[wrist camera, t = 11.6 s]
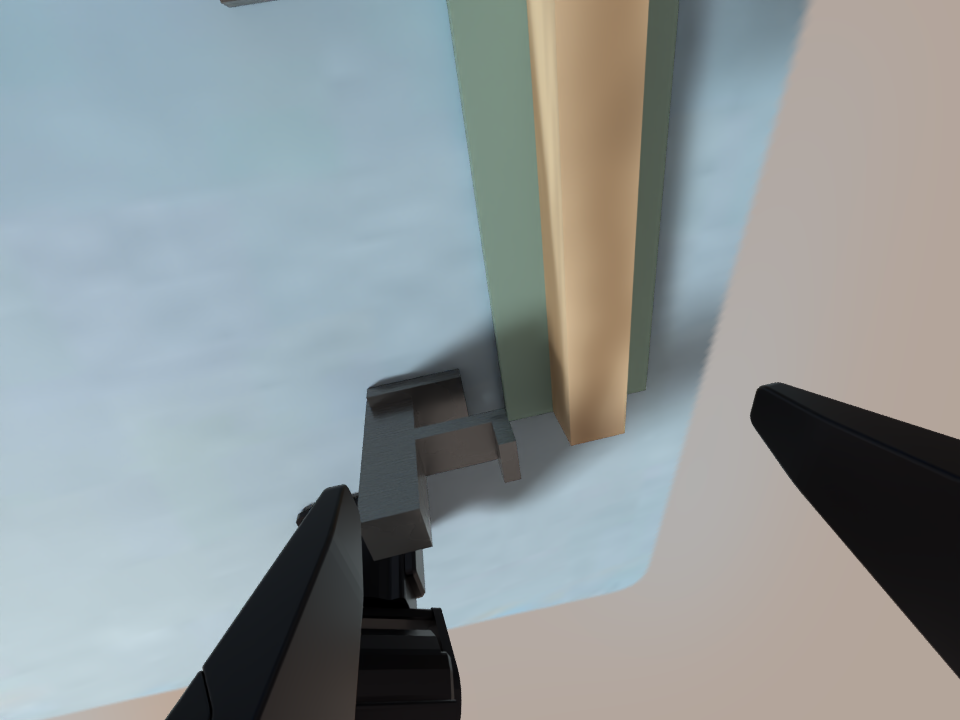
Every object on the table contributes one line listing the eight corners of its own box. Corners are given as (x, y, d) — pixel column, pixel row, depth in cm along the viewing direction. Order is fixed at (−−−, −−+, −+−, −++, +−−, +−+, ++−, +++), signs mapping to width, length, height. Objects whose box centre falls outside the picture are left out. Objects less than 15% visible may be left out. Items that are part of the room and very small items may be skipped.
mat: (506, 415, 25) (508, 421, 25) (408, -261, 12) (409, -277, 11) (640, 384, 26) (645, 390, 25) (693, -293, 12) (705, -309, 12)
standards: (382, 443, 25) (378, 571, 18) (154, -174, 12) (-154, -526, 5) (498, 417, 25) (536, 531, 19) (400, -204, 12) (409, -563, 6)
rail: (552, 411, 25) (570, 445, 23) (511, -232, 12) (542, -319, 10) (601, 400, 25) (624, 433, 23) (611, -243, 12) (667, -331, 10)
